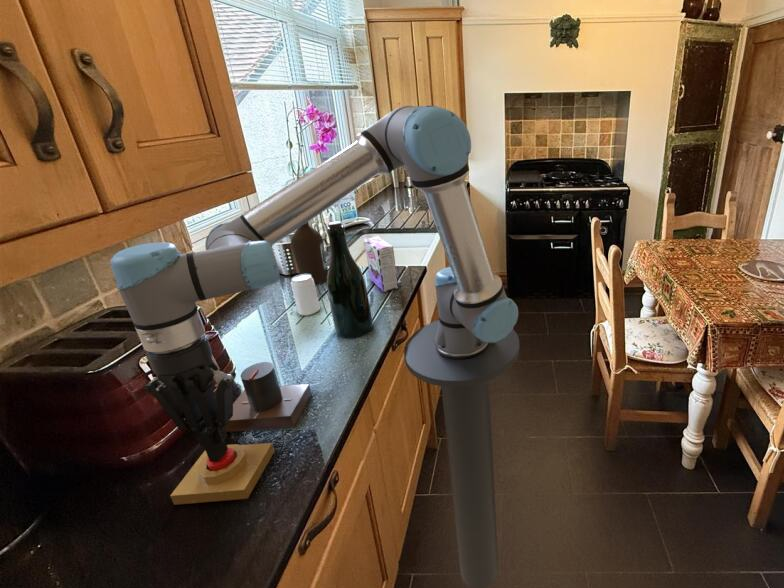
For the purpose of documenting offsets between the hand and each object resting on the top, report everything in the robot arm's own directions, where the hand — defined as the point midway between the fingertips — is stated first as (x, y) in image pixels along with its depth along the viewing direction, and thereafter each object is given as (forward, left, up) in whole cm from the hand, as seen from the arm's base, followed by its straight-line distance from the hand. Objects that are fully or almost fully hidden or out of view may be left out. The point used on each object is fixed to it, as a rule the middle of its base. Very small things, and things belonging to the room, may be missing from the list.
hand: (219, 455), depth 71 cm
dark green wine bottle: (-9, -49, -5) cm, 50 cm away
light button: (0, 0, -2) cm, 2 cm away
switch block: (0, 0, -5) cm, 5 cm away
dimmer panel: (0, -16, -5) cm, 17 cm away
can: (+9, -62, -5) cm, 63 cm away
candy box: (-11, -80, -5) cm, 81 cm away
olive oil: (+16, -87, -5) cm, 89 cm away
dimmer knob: (0, -16, -2) cm, 16 cm away
